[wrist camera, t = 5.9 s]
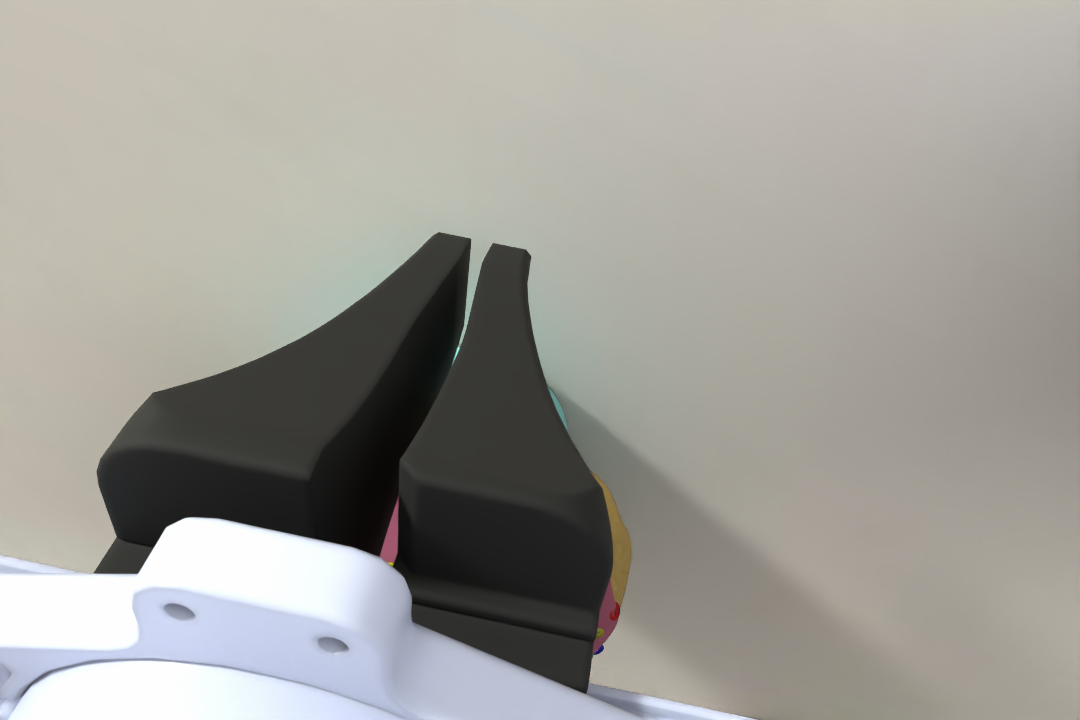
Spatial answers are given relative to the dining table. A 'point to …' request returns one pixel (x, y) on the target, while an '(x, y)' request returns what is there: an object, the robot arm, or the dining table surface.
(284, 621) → the robot arm
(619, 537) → the cupcake
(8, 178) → the dining table surface
